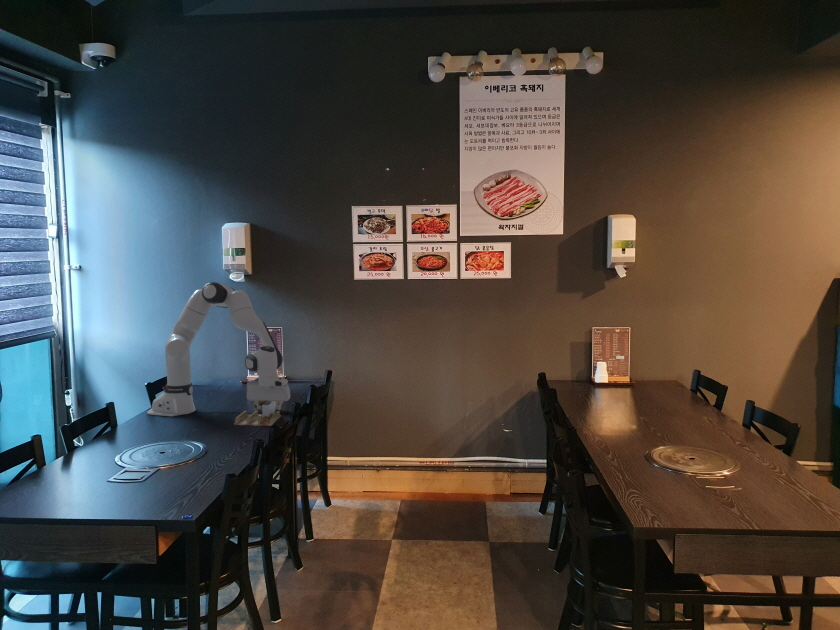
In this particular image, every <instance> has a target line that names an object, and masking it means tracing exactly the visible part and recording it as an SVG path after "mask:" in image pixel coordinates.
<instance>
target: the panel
mask: <svg viewBox="0 0 840 630" xmlns="http://www.w3.org/2000/svg"><path fill="white" fill-rule="evenodd" d="M275 413H276V401H267V402H266V403H264V404H263V405H262V413H261V415H262V418H265V419H268V420H269V419H270V418H271V417H272V416H273V415H274V414H275Z"/></svg>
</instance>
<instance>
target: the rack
mask: <svg viewBox="0 0 840 630" xmlns="http://www.w3.org/2000/svg"><path fill="white" fill-rule="evenodd" d="M281 417H282V416H281V412H280V410H276V411H275V414H274V415H273V416H272V417H271V418H270V419H269V420H268V419H265V418H262V414H259V411H254V412H253V413H251V414H248V410H244V411H242V412H241V413H240V414H238V415H237V416H236V417H235V418H234V423H233V424H234V426H257V427H259V426H260V427H261V426H263V427H271V426H273V424H274V423H276V422H277V421H278V420H279V419H280V418H281Z"/></svg>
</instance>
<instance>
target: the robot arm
mask: <svg viewBox="0 0 840 630" xmlns="http://www.w3.org/2000/svg"><path fill="white" fill-rule="evenodd" d="M214 306H216V307H218V308H224V309H226V308H227V309H228V310H229V313H230V317H231V321H232V323H233V324H234V326H235V327H236V328H237V329H239V330H241V331H244V332H249V333H252V334H254V335H256V336H257V337H258V338H259V340H260V342H261V344H262V346H260V347H259V348H258V349H257V350H256V351H252V352H250V353H248V354H246V356H245V358H244V366H245V369H247V370H248V371H249V372H252V373H257V372H258V376H257V378H259V381H254V380H249V381H248V382H247V383H246V389H247V390H246V399H247V400H248V401H253V404H254V403H255V404H256V406H257V410H260V409H261V405H259V403H258V402H259V401H275V402H278V405H277V406H276V411H280V410H281V408H282V407H281V406H282V404H283V402H287V401H290V399H291V389H290V386H289V385H288V384H289V381H288V379H287V378H284V377H281V376H279V375H278V374H279V373H278V369H280V367H281V366H282V364H283V362H284V359H283V357H284V356H283V355H282V353H281V351H280V350H279V348H278V346H277V345H276V342H275V341H274V338H273V337H272V335H271V333H270V331H269V328H268V327H267V325H266V323H265V322H264V321H263V320H262V319H260V317H258V315H257V313H256V312H255V310H254V307H253V306H254V305H253V304H252V302H251V299H250V298H249V295H248V293H247V292H246V291H243V290H241V289H240V290H235V288H233V287H230V286H228V285H227V284H222V283H220V282H216V281H210V282H208V283H206V284H205V285H203V287H202V288H200V289H196V290H194V292H193V293H192V294H191V295H190V297H189V299H188V300H187V302H186V303H185V306H184V307H183V309H182V311H181V313H180V315H179V317H178V319H177V321H176V322H175V324H174V326H173V328H172V330H171V332H170V334H169V336H168V337H167V341H166V343H165V345H164V352H165V353H164V354H165V366H166V380H167V381H166V382H167V383H166V384H165V385H163V386H162V390H164V391H163V392H162V393H161V394H159V395H158V396H157V397H155V399H153V401H152V405H151V408H150V409H149V410H147V413H146V414H147V415H151V416H152V415H153V416H164V417H175V416H182V415H183V416H184V415H188V414H192V413H194V412H196V410H197V408H196V407H195V403H194V399H193V390H194V389H193V383H192V371H191V369H192V368H191V353H190V352H191V351H190V347H191V345H192V343H193V342H194V339H195V338H196V335H197V334H198V333H199V331H200V329H201V327H202V326H203V323H204V321H205V319H206V318H207V315H208V313H209V311H210V309H211V308H212V307H214Z"/></svg>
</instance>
